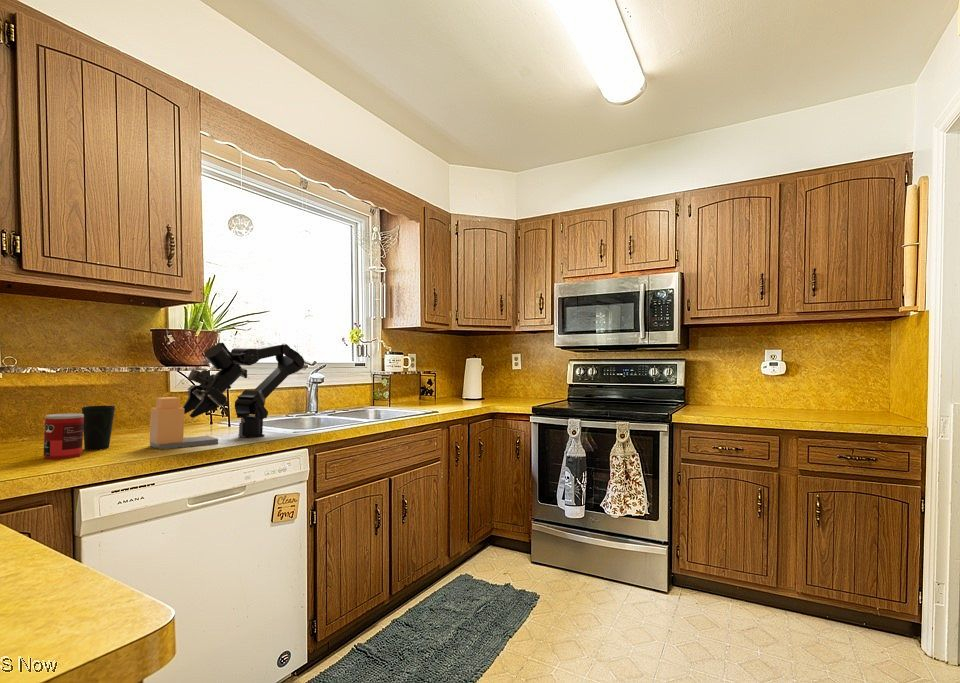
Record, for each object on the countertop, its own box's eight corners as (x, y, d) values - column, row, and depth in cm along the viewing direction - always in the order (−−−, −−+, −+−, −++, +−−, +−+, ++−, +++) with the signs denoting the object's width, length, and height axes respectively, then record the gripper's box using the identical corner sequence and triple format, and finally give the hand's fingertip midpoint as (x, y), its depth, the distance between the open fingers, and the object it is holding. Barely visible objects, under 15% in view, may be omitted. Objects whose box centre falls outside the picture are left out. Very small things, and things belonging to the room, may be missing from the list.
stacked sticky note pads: (175, 439, 155) (177, 396, 155) (183, 441, 150) (184, 398, 151) (149, 441, 150) (151, 397, 150) (157, 444, 145) (159, 399, 146)
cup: (75, 451, 140) (77, 408, 140) (85, 447, 147) (87, 405, 147) (108, 450, 143) (110, 407, 143) (116, 445, 150) (118, 405, 150)
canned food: (49, 455, 135) (51, 413, 135) (86, 453, 138) (88, 413, 138) (37, 460, 128) (40, 416, 128) (76, 458, 131) (79, 416, 131)
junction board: (207, 440, 162) (207, 426, 163) (218, 443, 156) (218, 429, 157) (149, 445, 151) (150, 430, 151) (159, 449, 145) (160, 434, 145)
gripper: (195, 360, 165) (155, 395, 156) (217, 361, 152) (175, 400, 144) (220, 383, 170) (182, 419, 162) (243, 386, 158) (204, 425, 149)
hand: (185, 415), depth 154 cm, fingers open, 9 cm apart
